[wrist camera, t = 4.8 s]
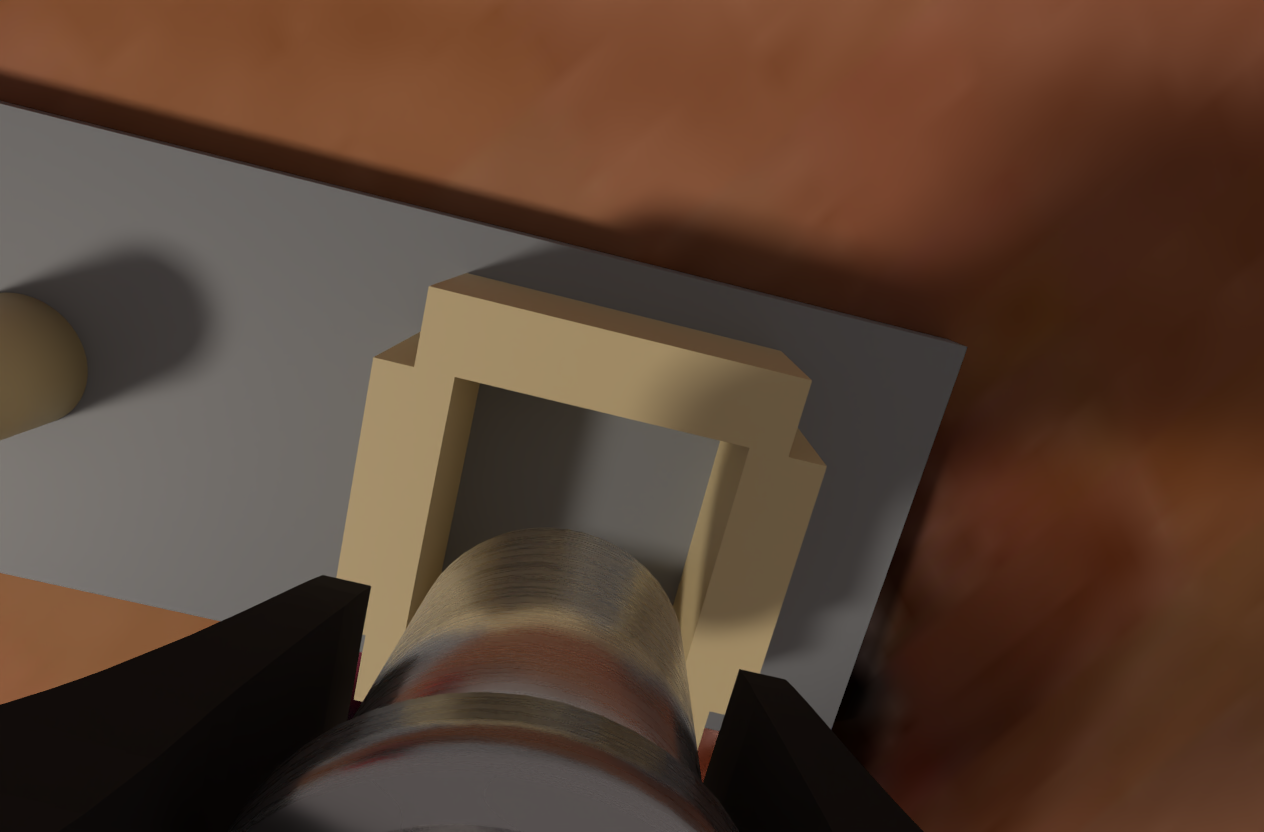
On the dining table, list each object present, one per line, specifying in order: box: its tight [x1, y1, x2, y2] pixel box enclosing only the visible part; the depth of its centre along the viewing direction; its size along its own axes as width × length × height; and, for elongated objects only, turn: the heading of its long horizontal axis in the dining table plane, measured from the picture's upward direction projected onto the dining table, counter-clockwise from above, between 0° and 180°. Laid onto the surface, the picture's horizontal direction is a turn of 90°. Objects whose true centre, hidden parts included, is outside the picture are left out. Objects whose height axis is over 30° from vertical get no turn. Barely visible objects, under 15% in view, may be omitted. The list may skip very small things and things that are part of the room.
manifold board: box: [0, 101, 967, 750], centre depth 16 cm, size 10×24×4 cm, turn 76°
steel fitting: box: [227, 528, 740, 832], centre depth 9 cm, size 5×5×6 cm
